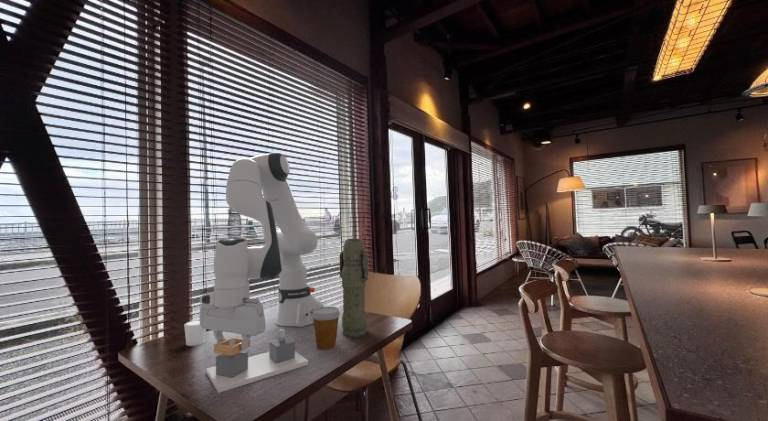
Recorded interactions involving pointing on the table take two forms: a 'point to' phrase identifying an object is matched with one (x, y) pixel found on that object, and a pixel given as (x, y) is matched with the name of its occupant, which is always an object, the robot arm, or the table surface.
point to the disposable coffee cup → (325, 326)
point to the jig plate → (255, 364)
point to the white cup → (194, 333)
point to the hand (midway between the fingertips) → (232, 347)
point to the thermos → (353, 287)
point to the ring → (229, 350)
